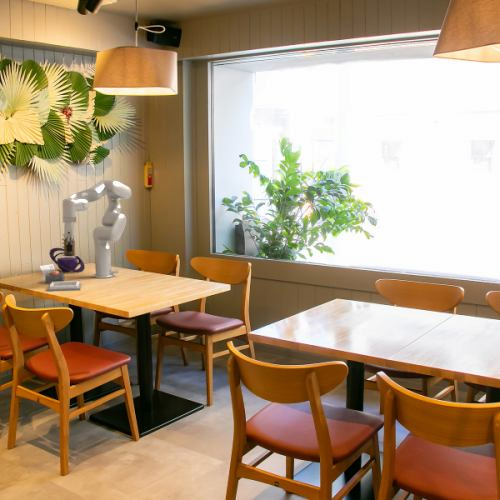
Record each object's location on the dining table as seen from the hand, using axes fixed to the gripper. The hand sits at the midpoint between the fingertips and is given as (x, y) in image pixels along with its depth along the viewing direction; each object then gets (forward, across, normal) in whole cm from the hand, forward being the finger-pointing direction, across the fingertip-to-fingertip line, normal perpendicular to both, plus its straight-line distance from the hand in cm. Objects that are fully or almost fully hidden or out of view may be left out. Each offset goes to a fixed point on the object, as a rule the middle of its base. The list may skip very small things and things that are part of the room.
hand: (69, 250), depth 363 cm
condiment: (+3, +1, 0) cm, 3 cm away
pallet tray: (+20, +10, -2) cm, 23 cm away
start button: (+17, -9, -10) cm, 21 cm away
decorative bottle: (+19, -46, -6) cm, 51 cm away
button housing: (+20, -9, -10) cm, 24 cm away
